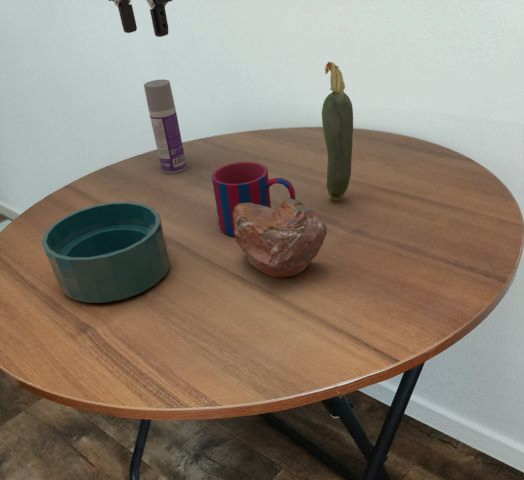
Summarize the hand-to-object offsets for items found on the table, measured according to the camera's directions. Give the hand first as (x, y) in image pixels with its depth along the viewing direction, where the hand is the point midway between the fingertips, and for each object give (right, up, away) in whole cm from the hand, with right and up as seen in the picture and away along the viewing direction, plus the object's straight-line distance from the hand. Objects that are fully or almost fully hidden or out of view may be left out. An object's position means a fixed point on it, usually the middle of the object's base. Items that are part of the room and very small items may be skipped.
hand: (146, 33), depth 84 cm
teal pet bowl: (-2, -40, -12) cm, 42 cm away
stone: (+20, -41, -15) cm, 48 cm away
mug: (+18, -32, -5) cm, 37 cm away
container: (+2, -17, +15) cm, 22 cm away
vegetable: (+31, -28, -1) cm, 41 cm away
